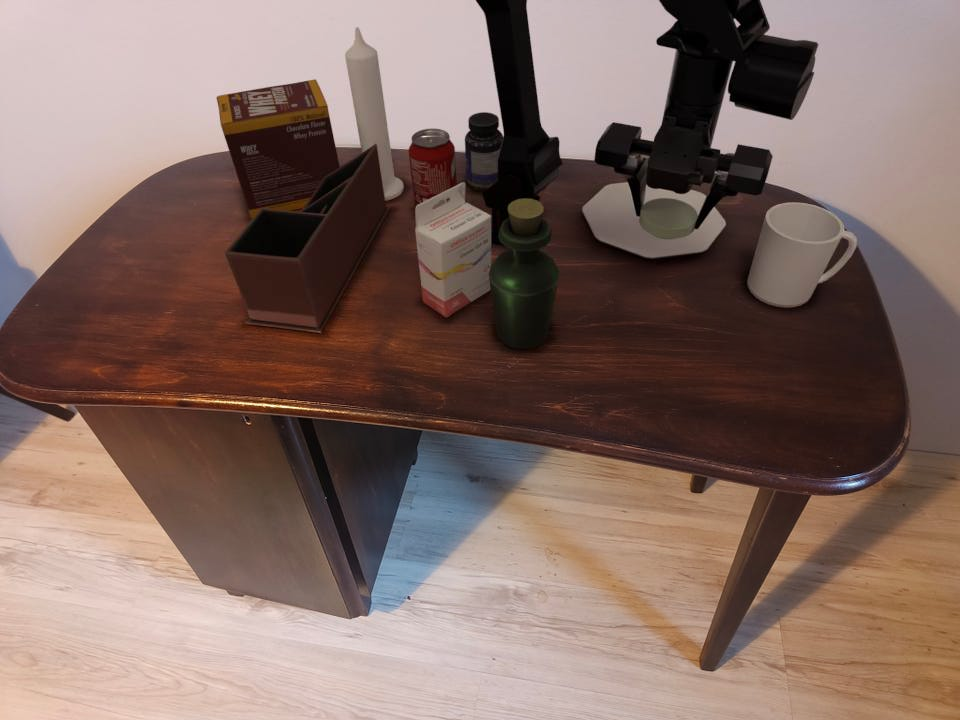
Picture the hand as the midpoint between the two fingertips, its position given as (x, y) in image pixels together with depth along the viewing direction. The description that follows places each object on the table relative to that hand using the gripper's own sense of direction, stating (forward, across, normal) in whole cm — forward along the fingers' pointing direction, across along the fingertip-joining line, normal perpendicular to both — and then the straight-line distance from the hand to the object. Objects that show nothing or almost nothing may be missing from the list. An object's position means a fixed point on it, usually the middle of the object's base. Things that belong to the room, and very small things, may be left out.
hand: (667, 221), depth 78 cm
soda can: (+11, -36, +6) cm, 38 cm away
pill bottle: (+11, -32, +16) cm, 37 cm away
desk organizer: (+11, -44, -12) cm, 47 cm away
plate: (+10, -4, +14) cm, 18 cm away
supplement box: (+11, -60, +1) cm, 61 cm away
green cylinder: (+1, 0, 0) cm, 1 cm away
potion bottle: (+10, -13, -15) cm, 22 cm away
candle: (+11, -47, +8) cm, 48 cm away
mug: (+10, +16, +6) cm, 20 cm away
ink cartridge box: (+11, -23, -12) cm, 28 cm away
